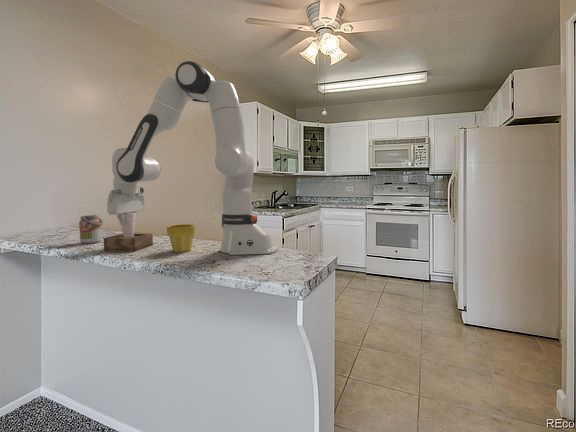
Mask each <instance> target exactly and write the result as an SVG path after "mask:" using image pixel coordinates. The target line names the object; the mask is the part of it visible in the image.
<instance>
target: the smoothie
mask: <svg viewBox="0 0 576 432" xmlns="http://www.w3.org/2000/svg"><path fill="white" fill-rule="evenodd" d="M135 216H136V213H131V212H129V213H124V216H123V217H124V219H125V220H126V224H125V225H120V226H121V230H122V231H121V232H122V233H123V237H124V238H130V237H134V233H135V227H136V226H135V224H136V222H135ZM136 217H137V216H136Z"/></svg>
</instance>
